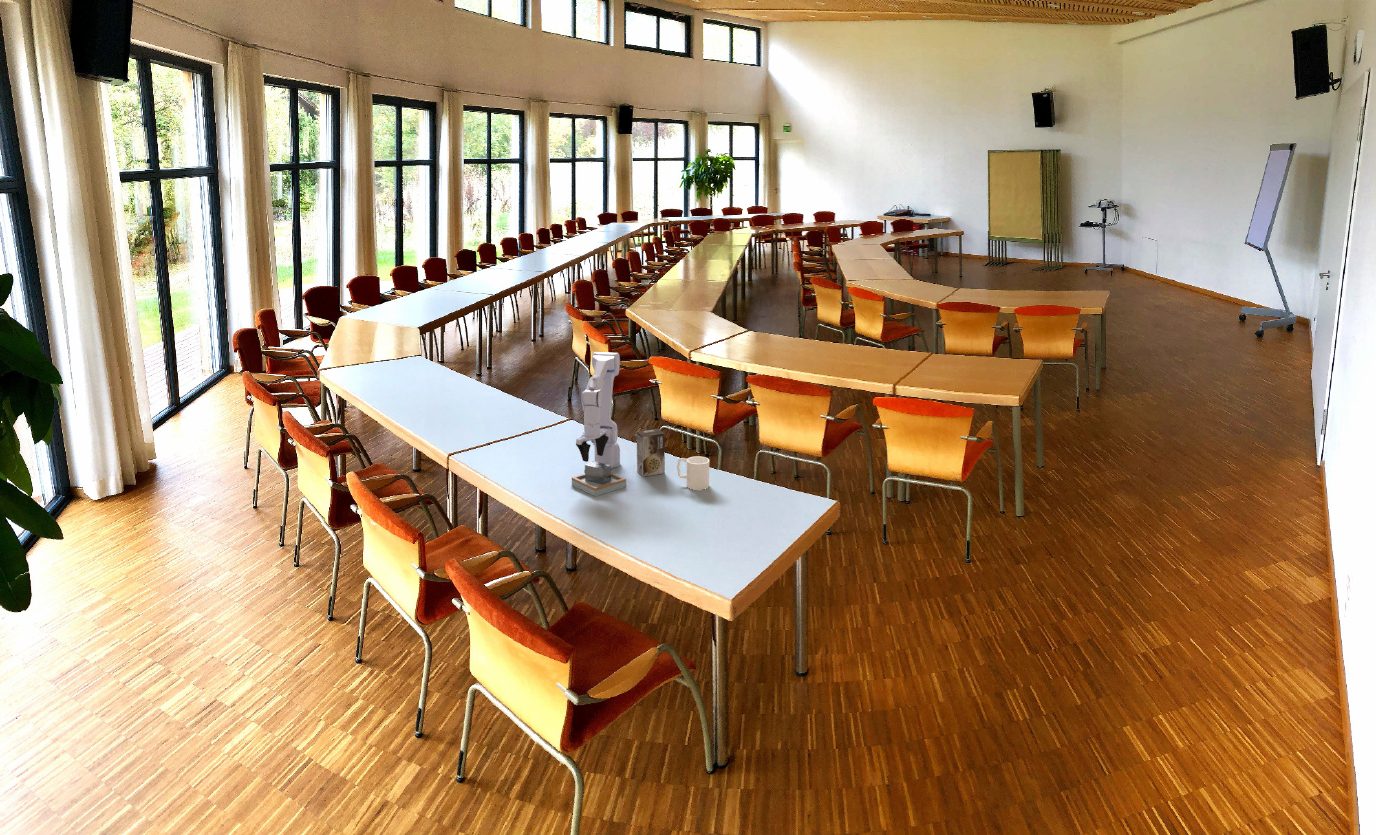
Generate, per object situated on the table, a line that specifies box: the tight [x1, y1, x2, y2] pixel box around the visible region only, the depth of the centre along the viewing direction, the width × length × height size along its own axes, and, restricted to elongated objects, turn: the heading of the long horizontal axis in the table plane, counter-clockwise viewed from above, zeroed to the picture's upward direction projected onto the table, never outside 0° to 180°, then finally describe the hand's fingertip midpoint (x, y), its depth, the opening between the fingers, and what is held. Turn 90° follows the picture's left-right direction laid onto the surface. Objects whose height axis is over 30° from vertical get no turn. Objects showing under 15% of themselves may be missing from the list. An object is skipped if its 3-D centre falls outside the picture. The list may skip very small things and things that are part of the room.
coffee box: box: [636, 428, 666, 478], centre depth 330 cm, size 9×6×16 cm
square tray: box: [571, 471, 627, 497], centre depth 319 cm, size 14×14×3 cm
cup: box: [676, 455, 710, 491], centre depth 319 cm, size 8×12×10 cm
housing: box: [583, 460, 612, 485], centre depth 318 cm, size 9×5×6 cm, turn 60°
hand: (592, 458), depth 319 cm, fingers open, 7 cm apart
